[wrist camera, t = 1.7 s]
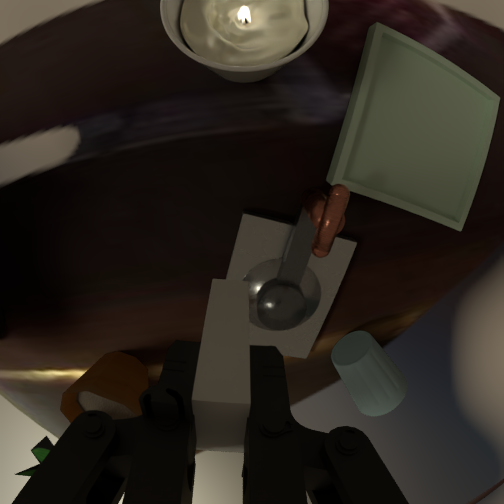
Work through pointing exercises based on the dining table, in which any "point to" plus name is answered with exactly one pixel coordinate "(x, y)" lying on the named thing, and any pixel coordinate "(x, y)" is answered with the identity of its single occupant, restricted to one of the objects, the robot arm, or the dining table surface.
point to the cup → (368, 373)
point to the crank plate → (266, 268)
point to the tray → (414, 130)
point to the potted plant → (101, 394)
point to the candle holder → (244, 33)
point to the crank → (302, 256)
